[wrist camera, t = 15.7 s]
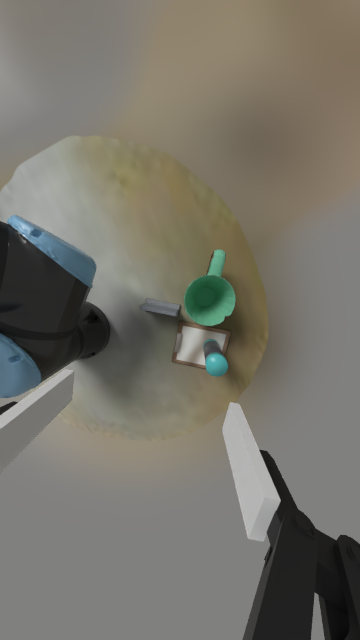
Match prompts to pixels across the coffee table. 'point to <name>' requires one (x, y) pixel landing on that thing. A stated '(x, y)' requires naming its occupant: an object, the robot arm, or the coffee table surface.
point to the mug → (210, 294)
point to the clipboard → (196, 343)
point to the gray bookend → (161, 307)
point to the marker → (214, 358)
